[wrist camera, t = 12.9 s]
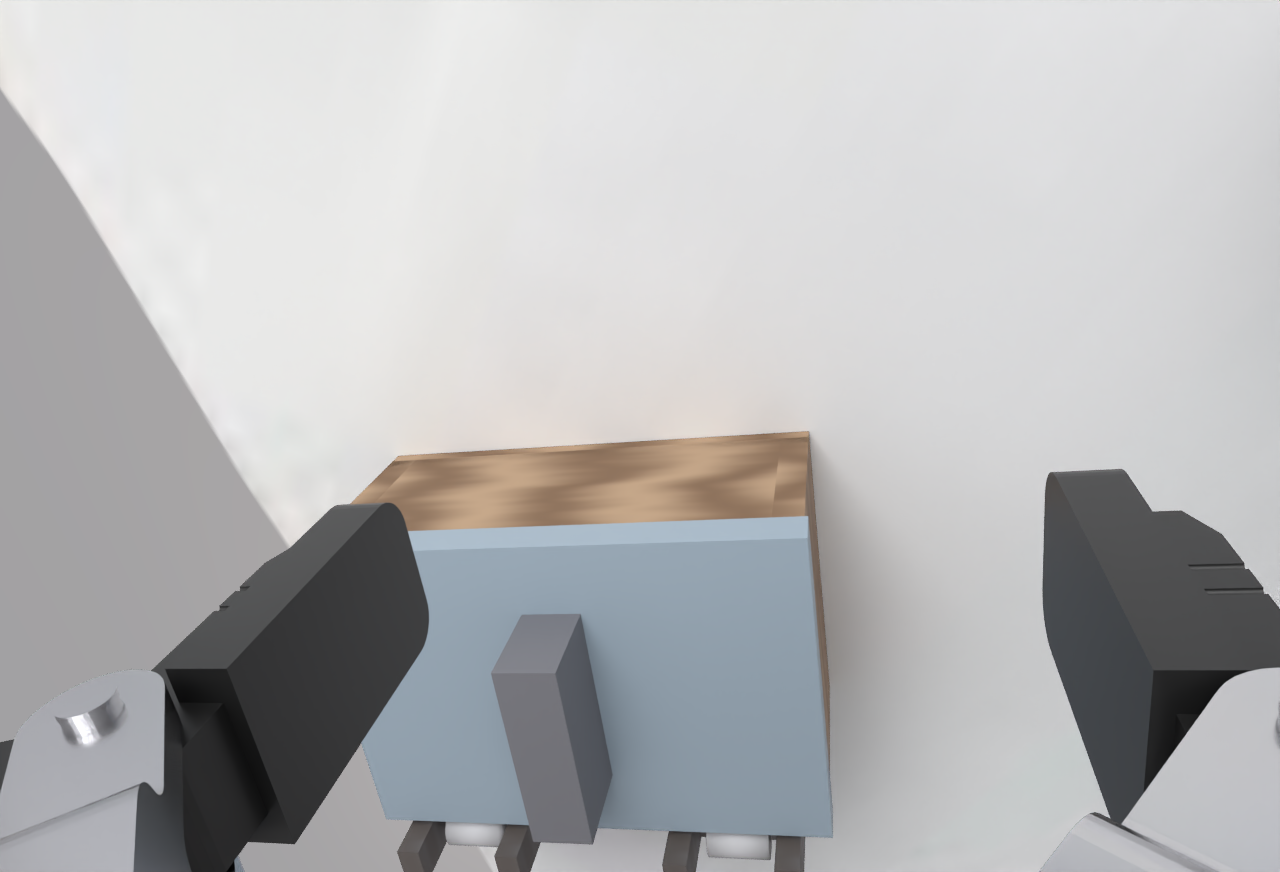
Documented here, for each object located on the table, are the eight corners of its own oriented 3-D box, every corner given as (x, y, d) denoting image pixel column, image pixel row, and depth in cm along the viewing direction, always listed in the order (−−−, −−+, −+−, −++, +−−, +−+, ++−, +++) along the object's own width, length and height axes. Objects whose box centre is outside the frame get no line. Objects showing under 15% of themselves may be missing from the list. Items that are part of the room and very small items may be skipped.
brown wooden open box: (808, 431, 40) (802, 561, 31) (832, 719, 47) (833, 905, 37) (398, 456, 45) (277, 575, 35) (468, 715, 51) (382, 880, 41)
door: (808, 516, 33) (805, 595, 29) (835, 841, 39) (836, 950, 35) (319, 534, 38) (247, 605, 33) (410, 823, 44) (361, 917, 39)
